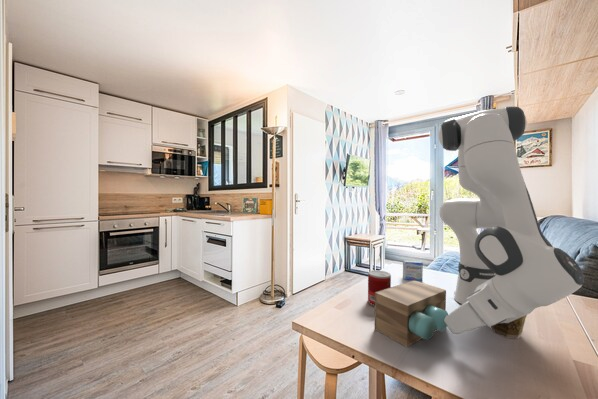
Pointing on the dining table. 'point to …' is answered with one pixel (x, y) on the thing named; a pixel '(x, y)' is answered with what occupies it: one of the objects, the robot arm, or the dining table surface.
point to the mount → (407, 311)
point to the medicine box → (412, 270)
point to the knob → (437, 316)
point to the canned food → (377, 283)
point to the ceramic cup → (510, 328)
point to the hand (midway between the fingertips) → (452, 324)
